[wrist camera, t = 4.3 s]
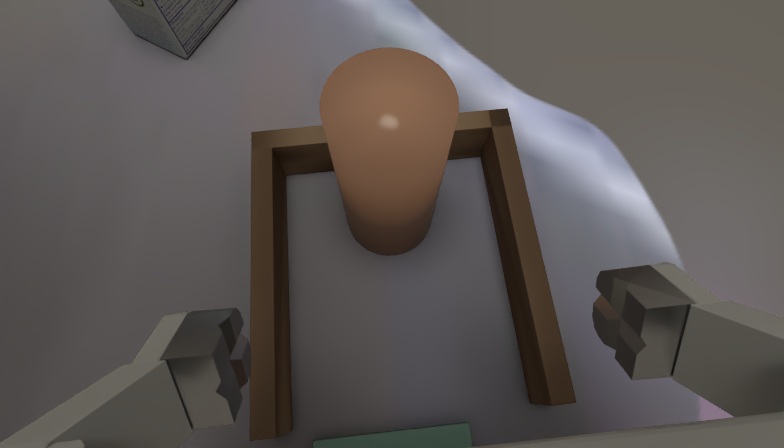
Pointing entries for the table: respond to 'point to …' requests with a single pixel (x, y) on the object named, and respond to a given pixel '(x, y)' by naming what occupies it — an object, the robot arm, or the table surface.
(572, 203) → the table surface
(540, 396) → the frame
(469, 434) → the pad
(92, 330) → the table surface
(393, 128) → the terracotta canister
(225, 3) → the medicine box
